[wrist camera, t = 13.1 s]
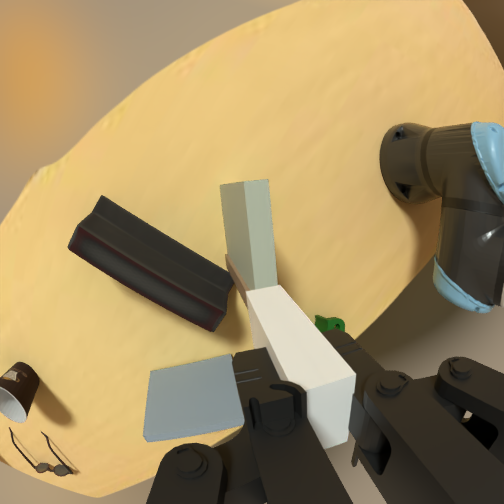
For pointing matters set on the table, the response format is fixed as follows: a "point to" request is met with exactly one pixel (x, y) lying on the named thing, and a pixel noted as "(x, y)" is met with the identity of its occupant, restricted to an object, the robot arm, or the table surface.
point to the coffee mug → (18, 391)
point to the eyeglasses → (43, 467)
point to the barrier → (152, 264)
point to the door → (192, 400)
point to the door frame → (249, 235)
